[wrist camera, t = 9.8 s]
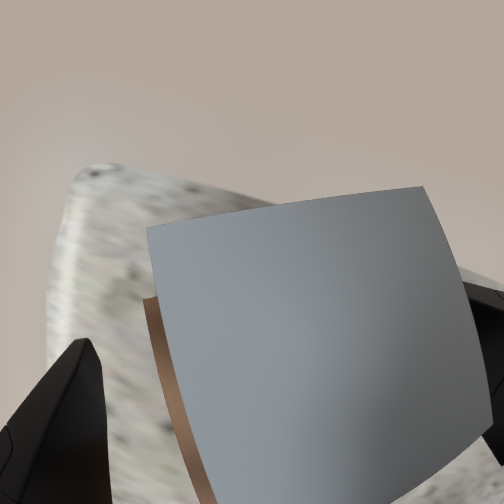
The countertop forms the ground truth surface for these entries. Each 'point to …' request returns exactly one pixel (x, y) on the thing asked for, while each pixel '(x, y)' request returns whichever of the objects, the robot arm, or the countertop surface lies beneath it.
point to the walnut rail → (176, 403)
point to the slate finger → (321, 347)
